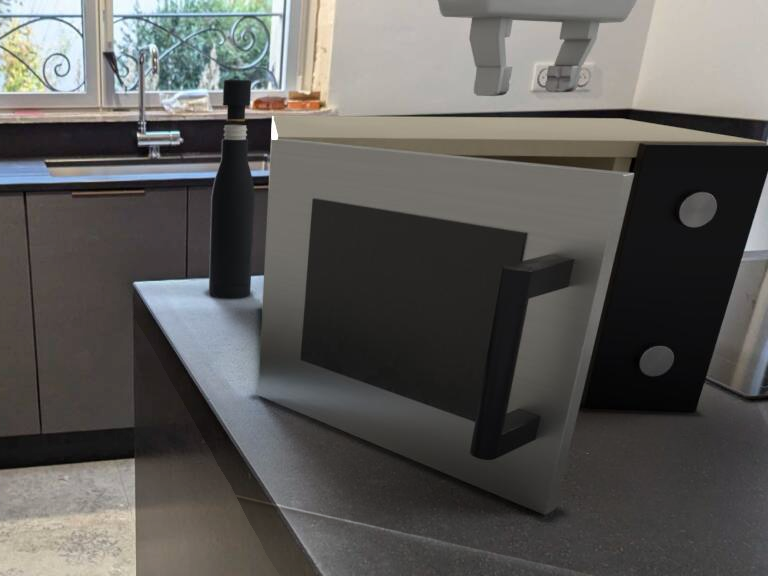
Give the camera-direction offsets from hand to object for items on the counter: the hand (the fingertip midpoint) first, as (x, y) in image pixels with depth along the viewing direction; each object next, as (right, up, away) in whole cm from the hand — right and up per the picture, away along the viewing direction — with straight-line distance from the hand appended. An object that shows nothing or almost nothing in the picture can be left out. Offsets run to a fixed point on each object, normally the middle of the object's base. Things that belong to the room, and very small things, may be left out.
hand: (526, 93), depth 58 cm
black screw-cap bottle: (-16, -1, +69) cm, 71 cm away
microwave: (+8, -13, +43) cm, 46 cm away
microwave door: (-8, -25, +17) cm, 31 cm away
